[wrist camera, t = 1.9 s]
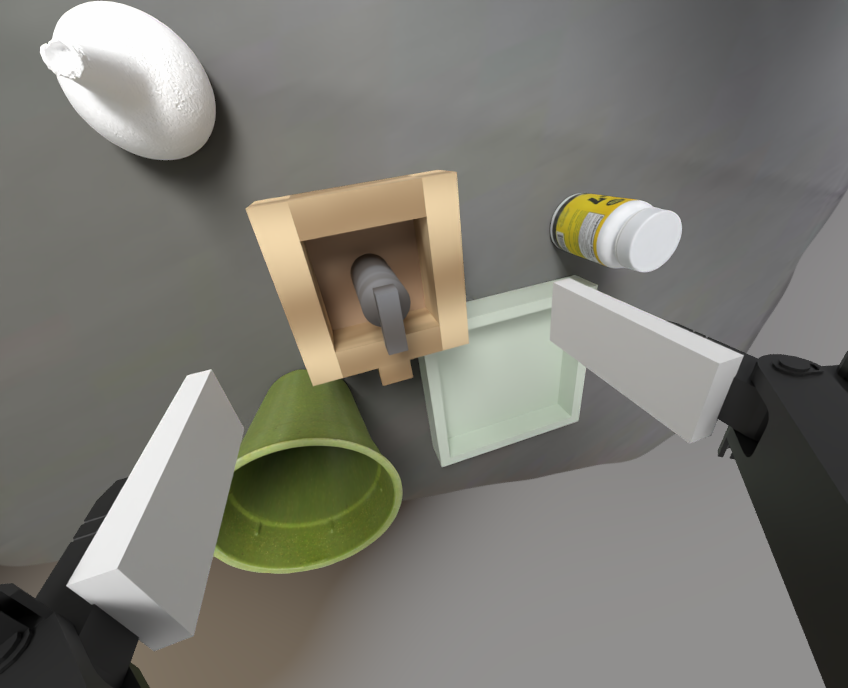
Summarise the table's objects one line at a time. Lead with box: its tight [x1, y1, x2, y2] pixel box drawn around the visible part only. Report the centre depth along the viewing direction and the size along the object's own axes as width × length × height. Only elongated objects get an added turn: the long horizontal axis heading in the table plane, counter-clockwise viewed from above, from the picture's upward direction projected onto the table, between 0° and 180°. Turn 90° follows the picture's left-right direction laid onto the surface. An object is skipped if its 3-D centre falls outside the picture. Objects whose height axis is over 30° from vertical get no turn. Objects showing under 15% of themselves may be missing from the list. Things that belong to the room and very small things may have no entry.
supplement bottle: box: [550, 193, 682, 272], centre depth 25 cm, size 5×5×8 cm
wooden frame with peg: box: [246, 170, 469, 386], centre depth 20 cm, size 11×10×3 cm
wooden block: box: [305, 219, 426, 355], centre depth 20 cm, size 8×8×11 cm
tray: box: [418, 275, 598, 467], centre depth 33 cm, size 16×16×3 cm
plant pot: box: [213, 369, 403, 574], centre depth 25 cm, size 12×12×11 cm
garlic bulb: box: [40, 1, 216, 160], centre depth 15 cm, size 6×6×8 cm
